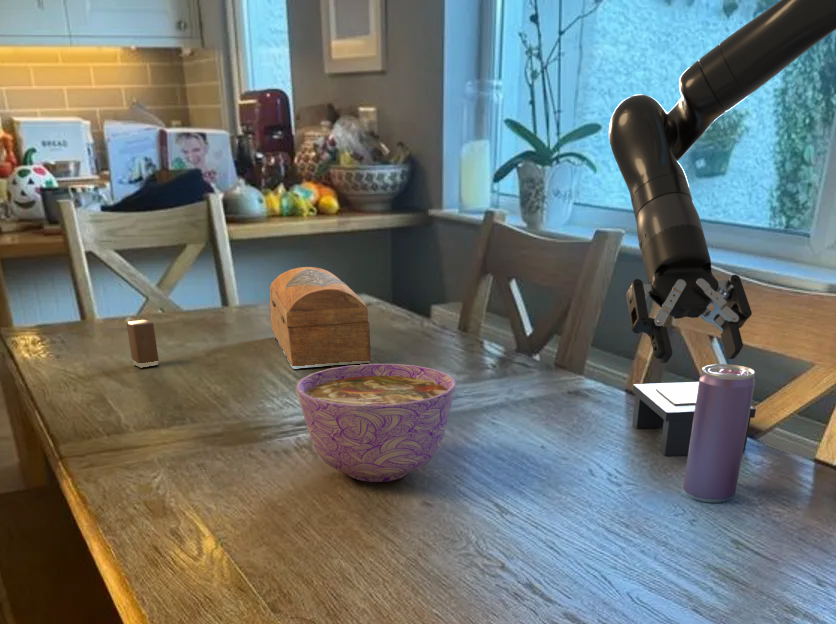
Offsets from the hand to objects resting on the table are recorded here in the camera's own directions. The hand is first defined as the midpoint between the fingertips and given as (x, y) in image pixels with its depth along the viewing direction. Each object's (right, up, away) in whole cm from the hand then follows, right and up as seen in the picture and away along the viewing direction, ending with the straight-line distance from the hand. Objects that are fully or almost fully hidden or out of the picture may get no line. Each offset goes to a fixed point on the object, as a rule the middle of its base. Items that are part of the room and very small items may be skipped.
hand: (700, 357), depth 107 cm
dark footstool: (+5, -6, +20) cm, 21 cm away
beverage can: (+1, -16, +1) cm, 16 cm away
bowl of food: (-39, -12, +11) cm, 42 cm away
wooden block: (-83, +15, +63) cm, 105 cm away
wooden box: (-50, +21, +72) cm, 90 cm away
